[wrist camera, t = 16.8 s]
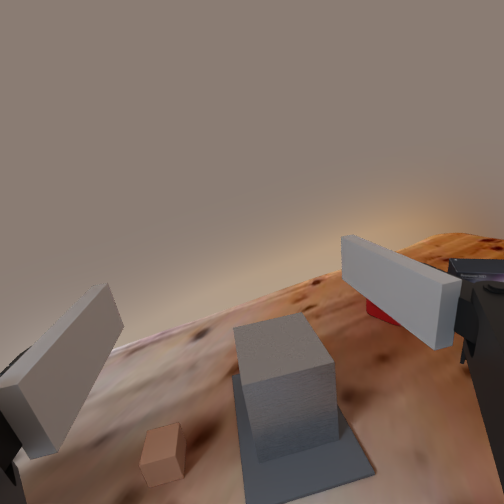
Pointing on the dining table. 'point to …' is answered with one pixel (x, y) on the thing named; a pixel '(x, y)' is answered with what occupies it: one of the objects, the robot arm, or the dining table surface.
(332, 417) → the steel cover
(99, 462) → the dining table surface
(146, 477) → the terracotta cube
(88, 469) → the dining table surface
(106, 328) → the robot arm
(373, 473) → the charcoal mat
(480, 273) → the small box
